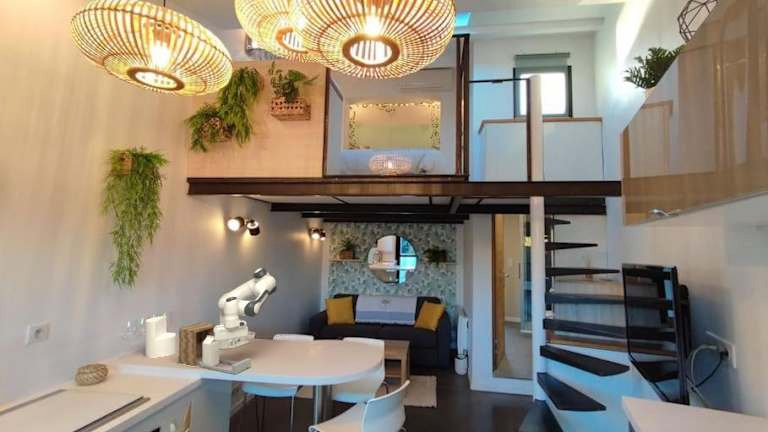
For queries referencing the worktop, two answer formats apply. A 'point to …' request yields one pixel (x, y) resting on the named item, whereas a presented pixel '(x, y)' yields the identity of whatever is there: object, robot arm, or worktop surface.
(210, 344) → the milk carton
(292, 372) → the worktop surface
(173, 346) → the white stepped block
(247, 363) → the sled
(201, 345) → the shelf cubby
